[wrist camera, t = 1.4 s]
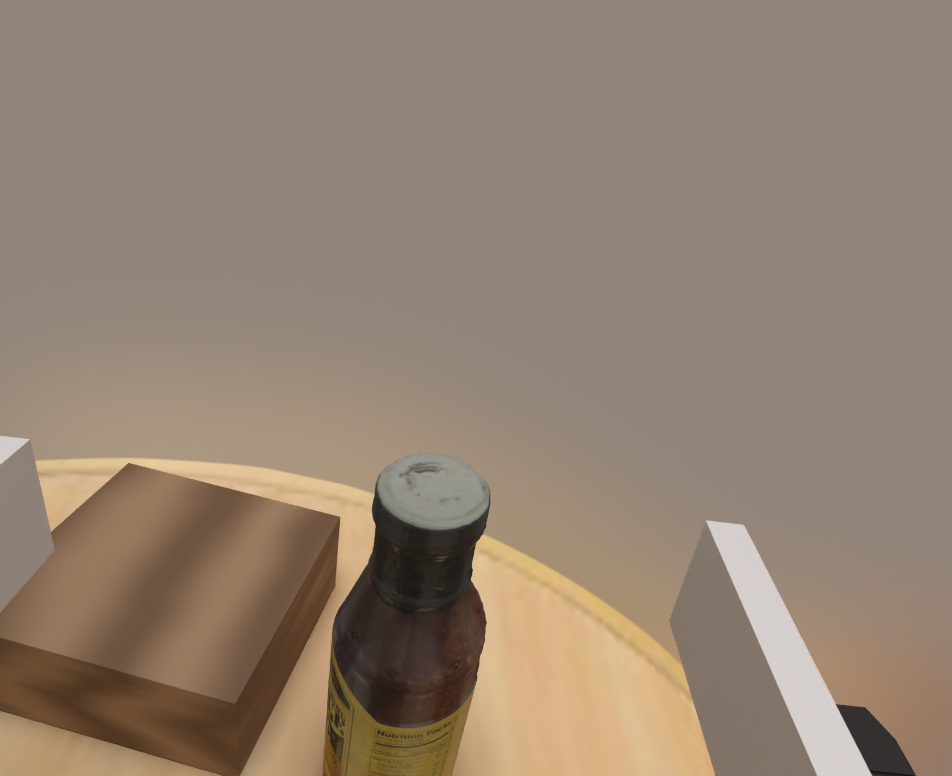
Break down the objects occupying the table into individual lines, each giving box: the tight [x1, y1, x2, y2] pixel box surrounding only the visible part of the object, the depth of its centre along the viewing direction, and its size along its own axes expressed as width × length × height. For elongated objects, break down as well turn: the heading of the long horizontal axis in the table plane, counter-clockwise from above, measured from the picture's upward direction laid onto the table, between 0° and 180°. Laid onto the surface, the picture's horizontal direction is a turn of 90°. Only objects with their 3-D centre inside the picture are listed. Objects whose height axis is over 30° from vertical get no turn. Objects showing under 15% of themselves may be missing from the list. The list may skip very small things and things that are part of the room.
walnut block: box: [0, 463, 340, 776], centre depth 37 cm, size 14×13×6 cm
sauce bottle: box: [323, 453, 490, 776], centre depth 28 cm, size 6×6×20 cm
